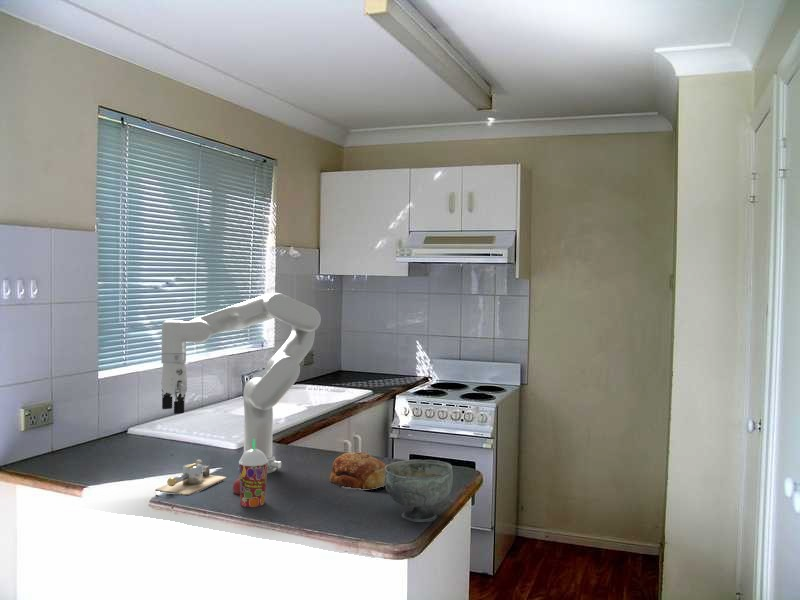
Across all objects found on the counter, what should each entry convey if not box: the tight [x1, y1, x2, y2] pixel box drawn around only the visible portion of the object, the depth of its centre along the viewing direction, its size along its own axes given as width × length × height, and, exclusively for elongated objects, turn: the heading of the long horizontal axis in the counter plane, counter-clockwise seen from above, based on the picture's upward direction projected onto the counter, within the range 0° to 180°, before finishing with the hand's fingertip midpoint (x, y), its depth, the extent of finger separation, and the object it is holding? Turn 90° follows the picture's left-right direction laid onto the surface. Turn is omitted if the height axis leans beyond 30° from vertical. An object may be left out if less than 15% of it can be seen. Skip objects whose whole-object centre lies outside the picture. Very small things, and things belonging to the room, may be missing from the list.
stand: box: [154, 459, 228, 496], centre depth 214 cm, size 12×20×7 cm, turn 160°
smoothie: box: [238, 439, 268, 508], centre depth 197 cm, size 8×8×20 cm
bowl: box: [384, 459, 454, 523], centre depth 191 cm, size 20×19×15 cm
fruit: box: [232, 477, 240, 495], centre depth 207 cm, size 6×6×8 cm
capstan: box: [166, 462, 206, 486], centre depth 212 cm, size 18×6×6 cm, turn 160°
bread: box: [329, 452, 388, 489], centre depth 223 cm, size 20×18×10 cm
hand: (173, 411), depth 220 cm, fingers open, 9 cm apart
